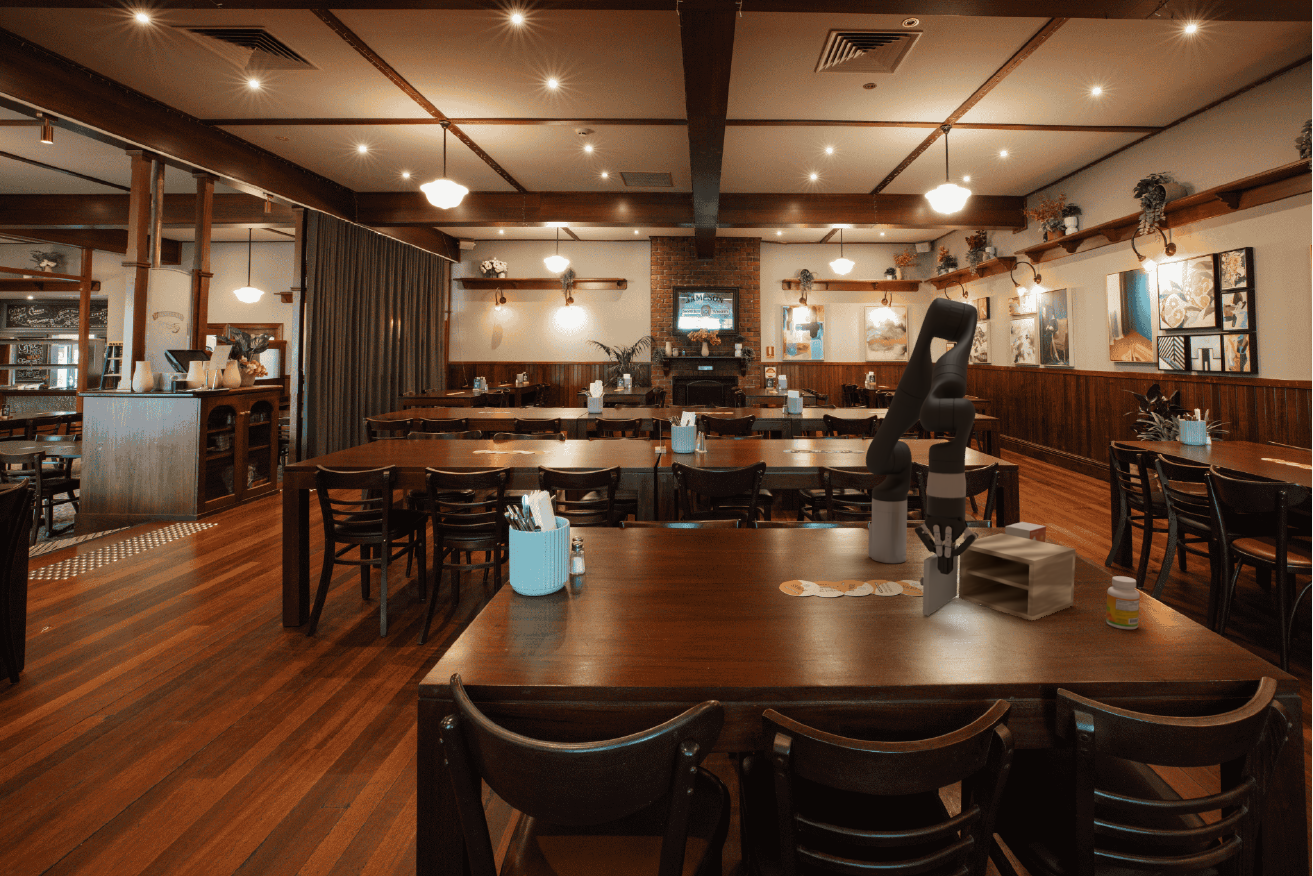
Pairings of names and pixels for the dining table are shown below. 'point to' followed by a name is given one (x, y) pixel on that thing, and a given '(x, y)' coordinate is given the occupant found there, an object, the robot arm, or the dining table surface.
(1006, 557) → the cabinet
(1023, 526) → the small box
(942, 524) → the robot arm
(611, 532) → the dining table surface
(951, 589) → the door
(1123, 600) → the supplement bottle
